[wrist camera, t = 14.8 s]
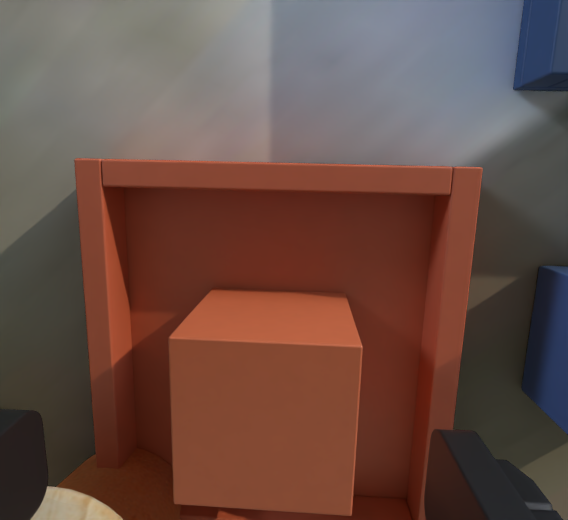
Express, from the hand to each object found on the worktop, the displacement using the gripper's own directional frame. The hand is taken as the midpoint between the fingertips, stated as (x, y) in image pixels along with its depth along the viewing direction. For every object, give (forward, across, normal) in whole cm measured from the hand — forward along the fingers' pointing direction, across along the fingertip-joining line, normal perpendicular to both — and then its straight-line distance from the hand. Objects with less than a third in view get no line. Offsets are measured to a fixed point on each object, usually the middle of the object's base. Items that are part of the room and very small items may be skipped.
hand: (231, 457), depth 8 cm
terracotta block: (+6, -1, 0) cm, 6 cm away
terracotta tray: (+6, 0, 0) cm, 6 cm away
